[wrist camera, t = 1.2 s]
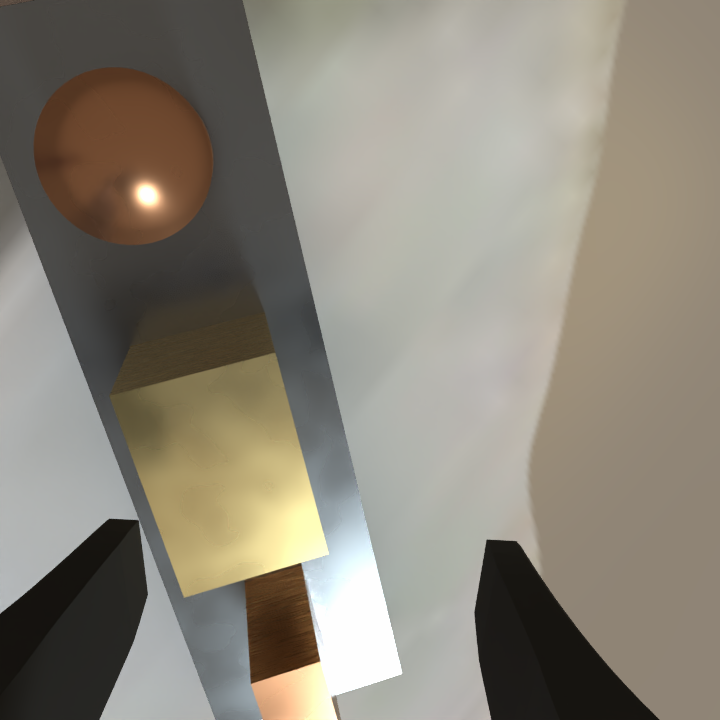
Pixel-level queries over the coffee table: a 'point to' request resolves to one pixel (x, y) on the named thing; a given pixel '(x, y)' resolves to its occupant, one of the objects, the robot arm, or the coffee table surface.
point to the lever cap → (218, 453)
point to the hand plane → (192, 301)
